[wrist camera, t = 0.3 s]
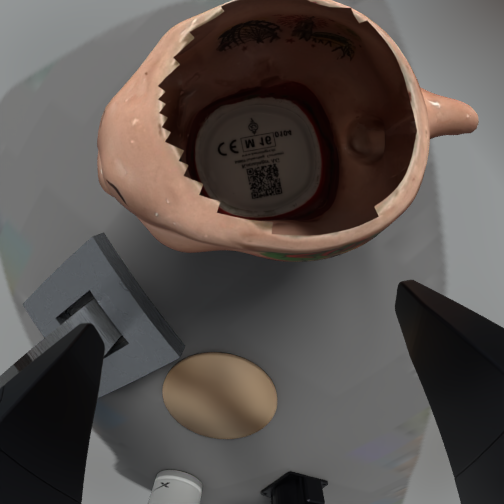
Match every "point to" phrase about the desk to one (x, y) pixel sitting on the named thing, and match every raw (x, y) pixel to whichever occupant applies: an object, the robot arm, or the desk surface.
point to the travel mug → (175, 488)
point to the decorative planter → (272, 132)
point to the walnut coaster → (220, 395)
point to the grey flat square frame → (108, 312)
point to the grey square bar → (84, 315)
